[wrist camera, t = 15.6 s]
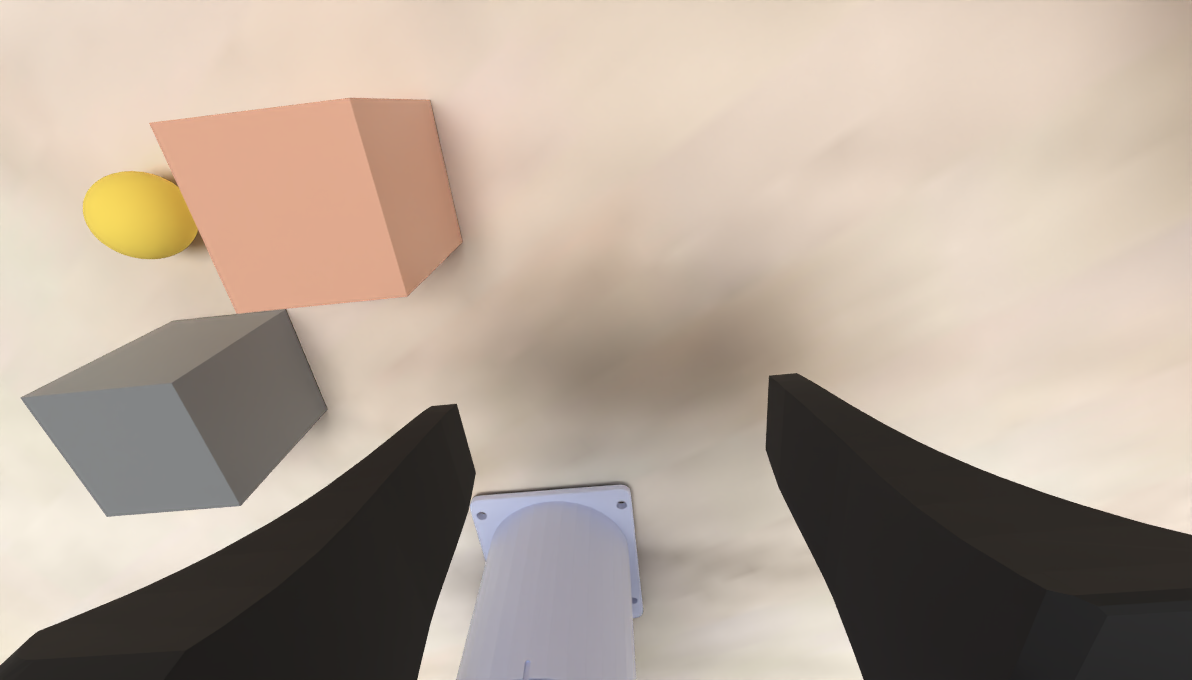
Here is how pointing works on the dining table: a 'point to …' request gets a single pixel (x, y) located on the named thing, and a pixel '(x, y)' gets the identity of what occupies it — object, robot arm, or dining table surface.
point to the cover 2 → (183, 413)
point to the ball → (139, 215)
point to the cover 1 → (316, 199)
